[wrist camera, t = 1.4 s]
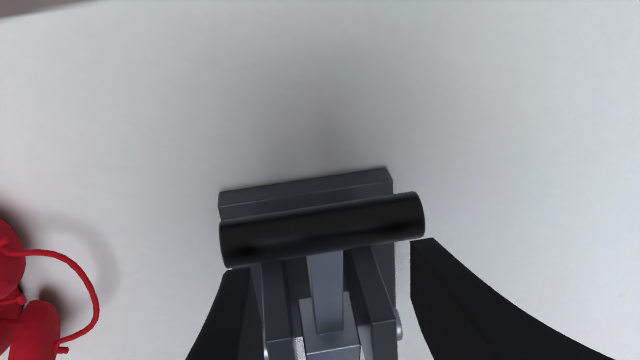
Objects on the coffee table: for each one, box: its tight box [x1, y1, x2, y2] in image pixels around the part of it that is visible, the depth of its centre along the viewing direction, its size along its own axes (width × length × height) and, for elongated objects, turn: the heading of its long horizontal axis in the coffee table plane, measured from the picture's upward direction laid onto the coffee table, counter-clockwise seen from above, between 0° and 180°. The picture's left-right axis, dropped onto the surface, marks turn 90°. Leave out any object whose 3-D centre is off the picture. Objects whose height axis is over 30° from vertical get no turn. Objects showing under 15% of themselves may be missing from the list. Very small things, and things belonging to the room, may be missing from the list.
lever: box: [219, 191, 425, 360], centre depth 19 cm, size 10×6×2 cm, turn 5°
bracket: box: [218, 168, 402, 360], centre depth 23 cm, size 9×8×7 cm
